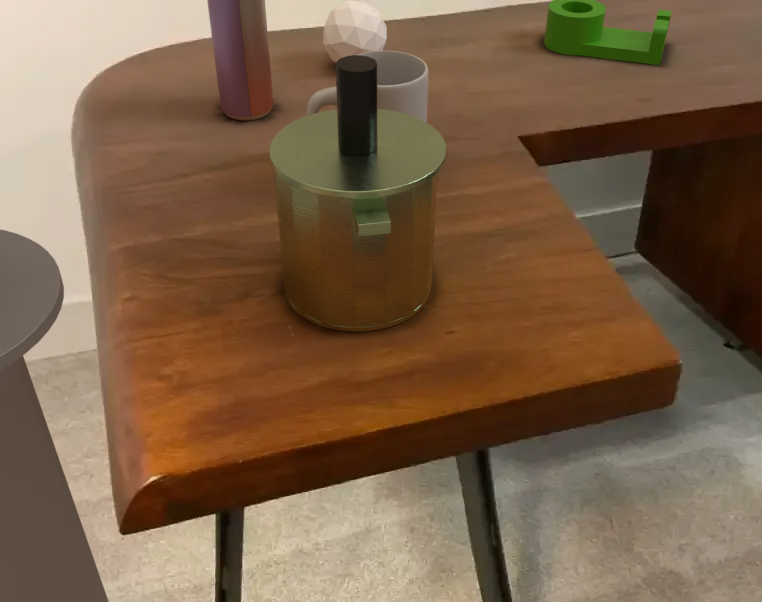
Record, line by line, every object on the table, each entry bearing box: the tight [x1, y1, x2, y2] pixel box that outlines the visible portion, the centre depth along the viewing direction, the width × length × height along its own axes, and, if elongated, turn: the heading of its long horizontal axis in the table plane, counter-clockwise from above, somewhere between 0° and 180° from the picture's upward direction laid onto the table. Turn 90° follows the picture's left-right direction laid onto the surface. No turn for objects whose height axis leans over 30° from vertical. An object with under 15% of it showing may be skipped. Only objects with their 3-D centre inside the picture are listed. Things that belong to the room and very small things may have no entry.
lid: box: [268, 55, 447, 199], centre depth 69 cm, size 14×14×8 cm
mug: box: [305, 50, 429, 123], centre depth 90 cm, size 12×8×11 cm
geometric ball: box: [322, 0, 388, 63], centre depth 111 cm, size 8×8×8 cm
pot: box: [273, 169, 438, 333], centre depth 75 cm, size 13×18×12 cm
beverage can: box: [206, 0, 274, 121], centre depth 99 cm, size 6×6×15 cm
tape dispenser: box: [543, 0, 673, 66], centre depth 116 cm, size 15×7×5 cm, turn 72°
